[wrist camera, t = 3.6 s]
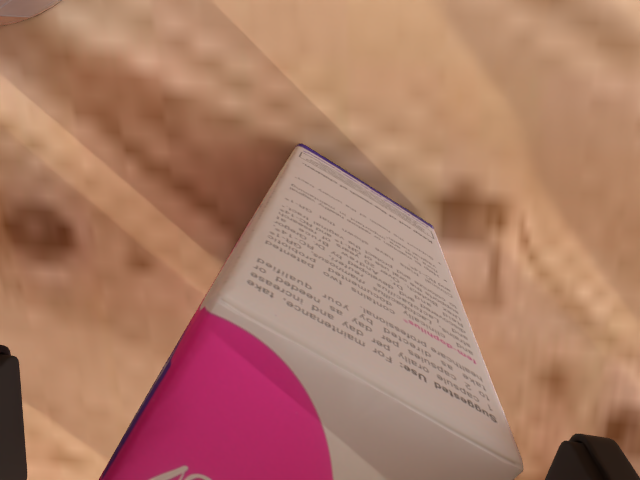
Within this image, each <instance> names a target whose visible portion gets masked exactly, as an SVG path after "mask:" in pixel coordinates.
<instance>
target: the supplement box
mask: <svg viewBox="0 0 640 480" xmlns="http://www.w3.org/2000/svg"><path fill="white" fill-rule="evenodd" d="M522 471H523V463H522V458H521V456H520V453H519V450H518V448H517V445H516V443H515V440H514V437H513V435H512V432H511V430H510V427H509V424H508V422H507V419H506V416H505V414H504V411H503V409H502V406H501V403H500V401H499V399H498V396H497V394H496V391H495V388H494V386H493V383H492V381H491V378H490V375H489V372H488V370H487V367H486V365H485V362H484V359H483V357H482V355H481V352H480V349H479V346H478V344H477V341H476V339H475V336H474V334H473V331H472V328H471V326H470V323H469V320H468V318H467V315H466V313H465V310H464V307H463V305H462V302H461V299H460V296H459V294H458V291H457V289H456V286H455V283H454V281H453V278H452V275H451V273H450V270H449V267H448V265H447V262H446V259H445V257H444V254H443V252H442V249H441V247H440V244H439V241H438V239H437V236H436V233H435V231H434V227H433V226H432V225H431V224H429V223H427V222H426V221H424V220H423V219H422V218H420V217H419V216H417V215H415V214H414V213H412V212H410V211H409V210H407V209H406V208H404V207H402V206H401V205H399V204H397V203H396V202H394V201H392V200H391V199H389V198H388V197H386V196H384V195H383V194H381V193H380V192H378V191H377V190H375V189H374V188H372V187H370V186H369V185H367V184H366V183H364V182H362V181H361V180H359V179H358V178H356V177H354V176H353V175H351V174H350V173H348V172H347V171H345V170H344V169H342V168H341V167H339V166H338V165H336V164H334V163H333V162H331V161H329V160H328V159H326V158H325V157H323V156H321V155H320V154H318V153H317V152H315V151H314V150H312V149H310V148H309V147H307V146H305V145H303V144H298V145H297V146H296V147H295V149H294V150H293V152H292V153H291V155H290V156H289V158H288V160H287V161H286V163H285V165H284V166H283V168H282V169H281V171H280V173H279V174H278V176H277V178H276V179H275V181H274V183H273V184H272V186H271V187H270V189H269V191H268V192H267V194H266V196H265V197H264V199H263V200H262V202H261V204H260V205H259V207H258V209H257V210H256V212H255V214H254V215H253V217H252V219H251V220H250V222H249V223H248V225H247V227H246V228H245V230H244V232H243V233H242V235H241V237H240V238H239V240H238V242H237V243H236V245H235V247H234V248H233V250H232V252H231V253H230V255H229V257H228V258H227V260H226V262H225V264H224V265H223V267H222V269H221V270H220V272H219V274H218V276H217V277H216V279H215V281H214V282H213V284H212V286H211V288H210V289H209V291H208V293H207V294H206V296H205V298H204V299H203V301H202V303H201V304H200V306H199V308H198V309H197V311H196V313H195V314H194V316H193V318H192V319H191V321H190V323H189V325H188V326H187V328H186V330H185V331H184V333H183V335H182V336H181V338H180V340H179V342H178V343H177V345H176V347H175V348H174V350H173V352H172V353H171V355H170V357H169V359H168V360H167V362H166V364H165V365H164V367H163V369H162V370H161V372H160V374H159V376H158V377H157V379H156V381H155V382H154V384H153V386H152V388H151V389H150V391H149V393H148V394H147V396H146V398H145V400H144V401H143V403H142V405H141V406H140V408H139V410H138V412H137V413H136V415H135V417H134V419H133V420H132V422H131V424H130V426H129V427H128V429H127V431H126V433H125V434H124V436H123V438H122V440H121V441H120V443H119V445H118V447H117V449H116V450H115V452H114V454H113V456H112V457H111V459H110V461H109V463H108V464H107V466H106V468H105V470H104V471H103V473H102V475H101V476H100V478H99V480H513V479H515V478H516V477H517V476H518V475H519V474H520V473H521V472H522Z"/></svg>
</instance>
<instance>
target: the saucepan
mask: <svg viewBox="0 0 640 480" xmlns="http://www.w3.org/2000/svg"><path fill="white" fill-rule="evenodd" d="M60 1H61V0H0V26H3V25H8V24H13V23H18V22H20V21H23V20H26V19H29V18H31V17H34V16H37V15H39V14H40V13H42V12H44V11H46V10H47V9H49V8H51V7H53V6H55V5H56V4H57V3H59V2H60Z"/></svg>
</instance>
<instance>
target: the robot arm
mask: <svg viewBox="0 0 640 480" xmlns="http://www.w3.org/2000/svg"><path fill="white" fill-rule="evenodd" d="M0 480H27V463H26V450H25V436H24V423H23V410H22V396H21V383H20V370H19V361H18V359H17V357H15V356H11V354H10V350H9V349H8V347H6V346H4V345H0ZM545 480H640V478H639V476H638V475H637V473H636V472H635V470H634V469H633V467H632V465H631V464H630V462H629V461H628V459H627V458H626V456H625V455H624V453H623V452H622V450H621V449H620V447H619V446H618V445H617V443H616V442H615V441H614V440H612V439H610V438H604V437H597V436H591V435H584V434H575V435H573V436H572V437H571V439H570V440H569V441H564V442H562V443H561V445H560V446H559V449H558V451H557V453H556V456H555V458H554V460H553V462H552V465H551V467H550V469H549V471H548V474H547V476H546V478H545Z"/></svg>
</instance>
